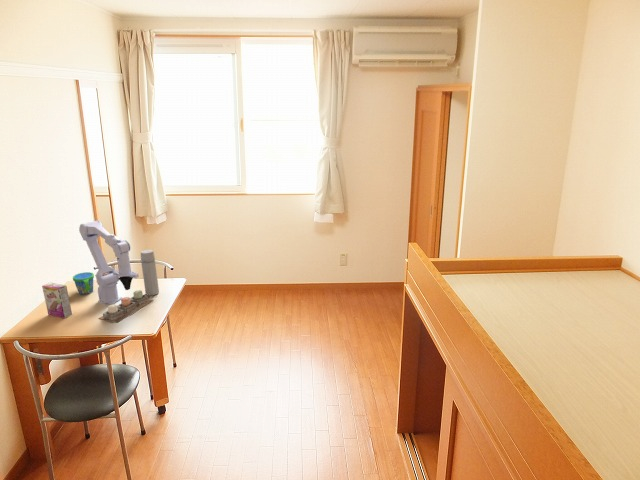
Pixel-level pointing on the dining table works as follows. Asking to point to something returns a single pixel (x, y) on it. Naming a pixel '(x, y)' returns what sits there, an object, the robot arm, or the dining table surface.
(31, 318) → the dining table surface
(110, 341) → the dining table surface
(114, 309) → the cream button
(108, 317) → the button board
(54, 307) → the candy bar box
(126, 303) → the terracotta button
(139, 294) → the sage button
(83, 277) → the snack cup
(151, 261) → the water bottle
